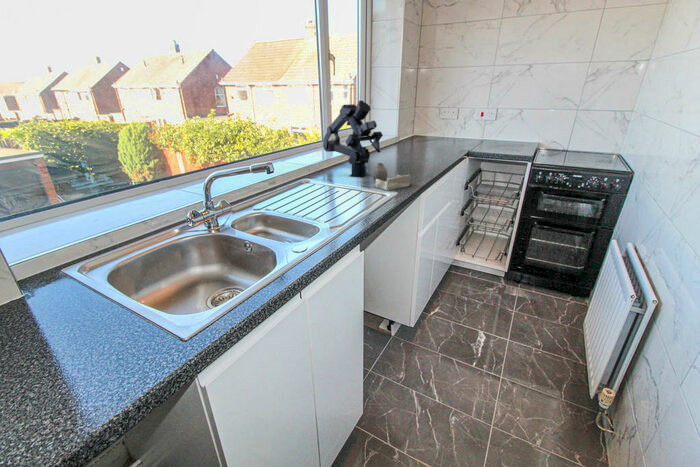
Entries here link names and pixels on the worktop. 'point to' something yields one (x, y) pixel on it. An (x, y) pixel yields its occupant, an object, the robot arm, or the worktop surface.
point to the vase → (380, 172)
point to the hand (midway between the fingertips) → (372, 153)
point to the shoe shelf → (393, 182)
